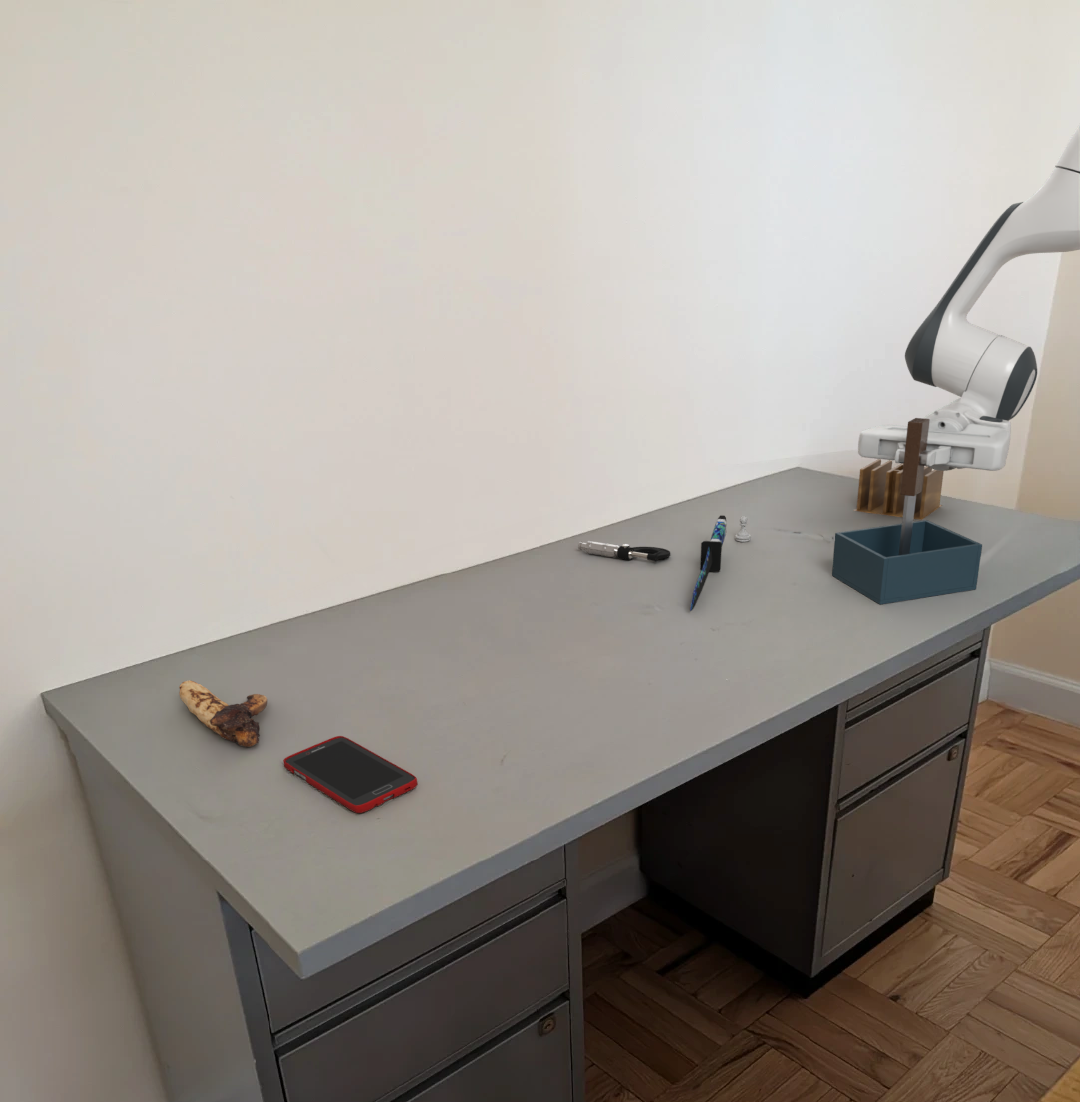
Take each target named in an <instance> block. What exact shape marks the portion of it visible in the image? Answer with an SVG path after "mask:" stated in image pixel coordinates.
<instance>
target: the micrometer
mask: <svg viewBox="0 0 1080 1102" xmlns="http://www.w3.org/2000/svg"><path fill="white" fill-rule="evenodd" d="M577 549H578V550H580V551H584V552H585V553H586V554H588V555H596V556H601V557H606V558H613V559H621V560H626V561H631V560H633V559H634V558H637V559H644V560H647V561H651V562H652V561H653V562H658V560H663V559H668V558H669V557H670V556H671V551H670V550H668V549H667V548H663V547H656V546H633V547H631V545H630V544H628V543H624V544H622V545H618V544H612V543H607V542H598V541H594V540H588V541H587V542H584V541H579V542H578V543H577Z"/></svg>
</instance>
